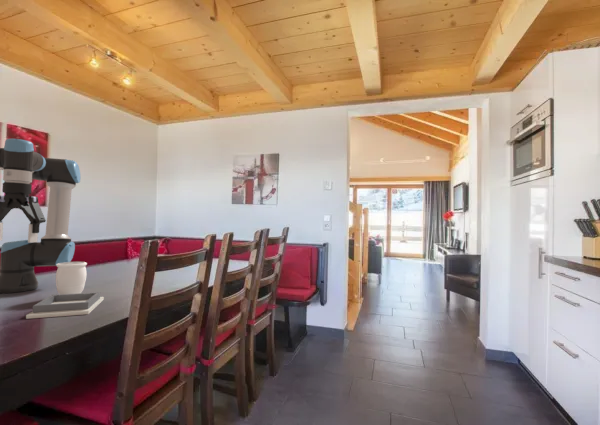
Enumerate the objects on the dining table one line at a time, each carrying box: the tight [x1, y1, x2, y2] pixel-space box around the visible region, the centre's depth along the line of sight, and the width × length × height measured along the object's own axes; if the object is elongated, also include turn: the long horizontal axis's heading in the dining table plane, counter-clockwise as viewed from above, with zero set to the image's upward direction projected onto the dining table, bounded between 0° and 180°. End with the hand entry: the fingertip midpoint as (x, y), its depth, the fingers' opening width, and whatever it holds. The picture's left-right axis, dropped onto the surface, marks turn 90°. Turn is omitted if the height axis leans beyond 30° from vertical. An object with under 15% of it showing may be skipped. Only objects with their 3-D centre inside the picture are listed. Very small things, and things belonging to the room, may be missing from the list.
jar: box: [55, 261, 88, 295], centre depth 126 cm, size 11×10×15 cm
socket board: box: [25, 292, 105, 320], centre depth 112 cm, size 20×18×4 cm
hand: (14, 241), depth 104 cm, fingers open, 13 cm apart
